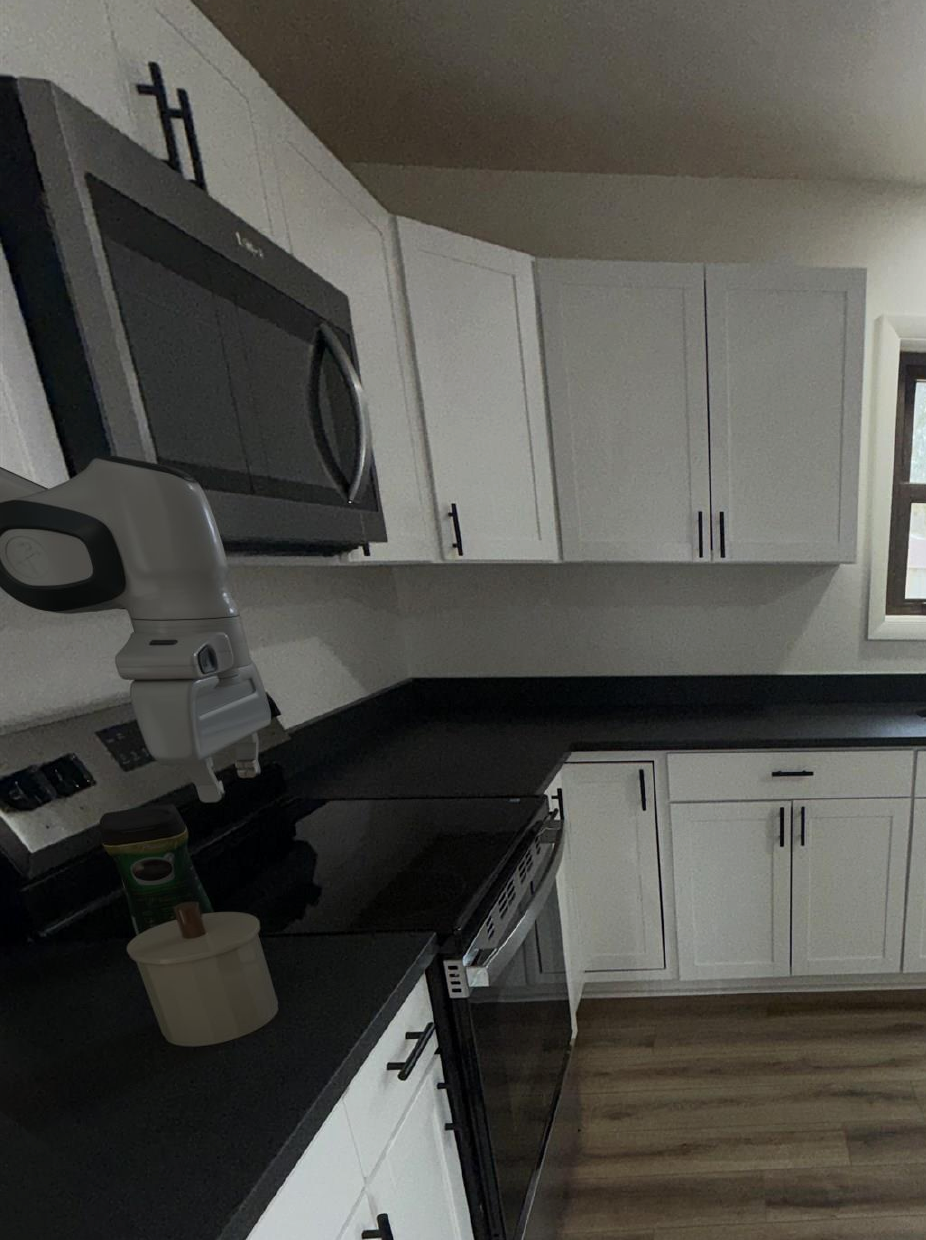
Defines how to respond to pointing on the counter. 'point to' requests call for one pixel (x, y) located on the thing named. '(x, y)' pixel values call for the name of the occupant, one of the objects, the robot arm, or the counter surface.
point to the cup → (212, 996)
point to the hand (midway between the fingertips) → (232, 787)
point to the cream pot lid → (193, 936)
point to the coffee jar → (152, 863)
